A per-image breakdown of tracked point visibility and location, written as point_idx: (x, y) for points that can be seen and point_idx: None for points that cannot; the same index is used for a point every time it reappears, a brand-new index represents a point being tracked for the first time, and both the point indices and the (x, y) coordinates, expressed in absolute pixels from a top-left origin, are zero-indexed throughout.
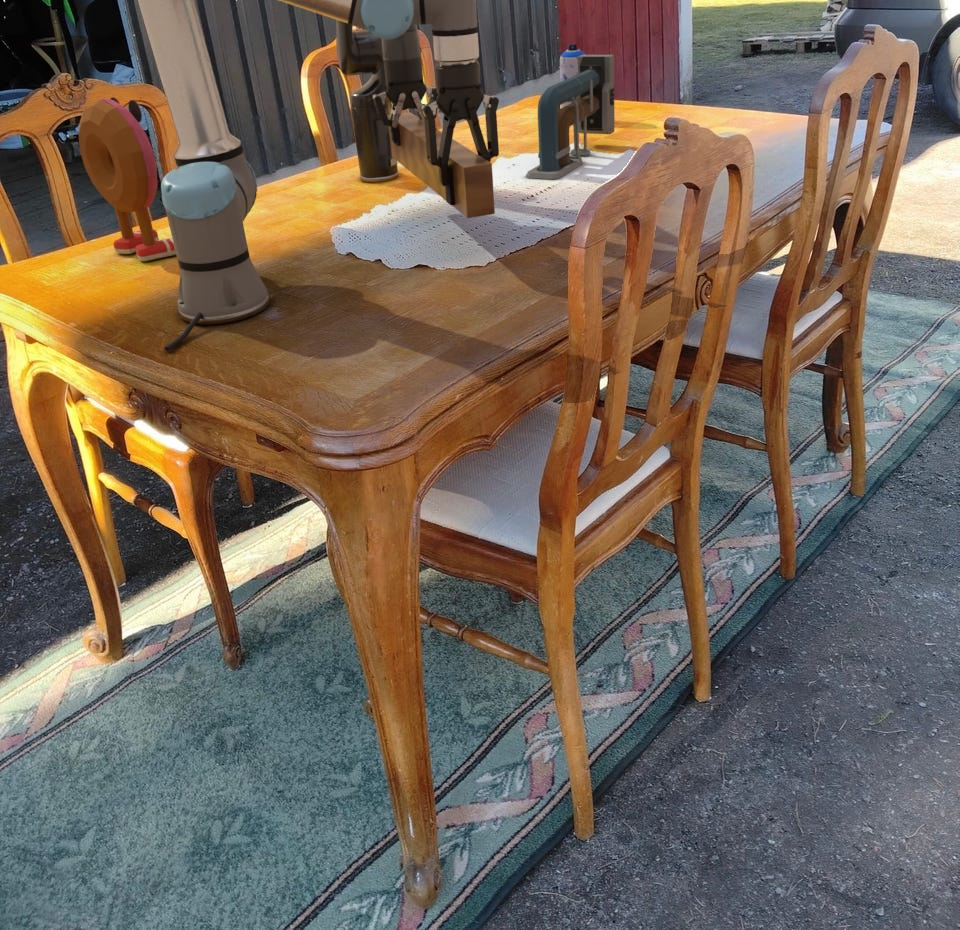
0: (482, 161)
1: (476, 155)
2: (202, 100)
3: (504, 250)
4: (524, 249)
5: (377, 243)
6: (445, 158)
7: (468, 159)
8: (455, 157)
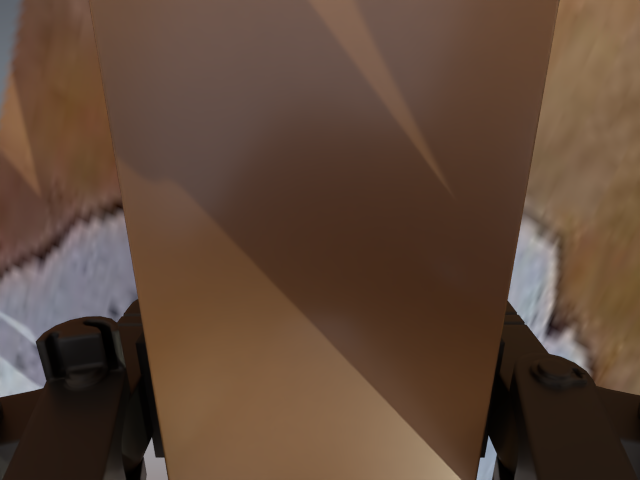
0: (182, 72)
1: (182, 404)
2: None
3: None
4: (119, 198)
5: (493, 451)
6: (569, 417)
7: (326, 288)
8: (419, 445)
